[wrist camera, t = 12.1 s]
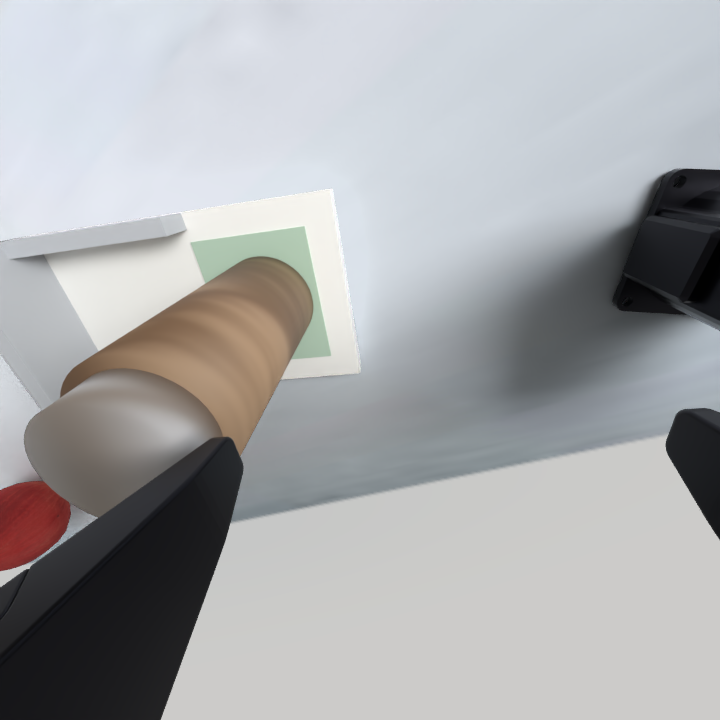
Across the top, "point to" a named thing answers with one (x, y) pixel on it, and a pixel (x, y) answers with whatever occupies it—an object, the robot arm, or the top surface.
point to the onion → (30, 522)
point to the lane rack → (166, 282)
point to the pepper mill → (172, 385)
